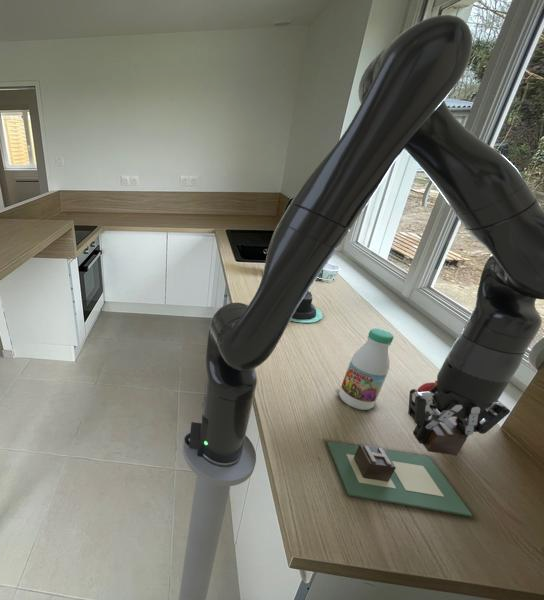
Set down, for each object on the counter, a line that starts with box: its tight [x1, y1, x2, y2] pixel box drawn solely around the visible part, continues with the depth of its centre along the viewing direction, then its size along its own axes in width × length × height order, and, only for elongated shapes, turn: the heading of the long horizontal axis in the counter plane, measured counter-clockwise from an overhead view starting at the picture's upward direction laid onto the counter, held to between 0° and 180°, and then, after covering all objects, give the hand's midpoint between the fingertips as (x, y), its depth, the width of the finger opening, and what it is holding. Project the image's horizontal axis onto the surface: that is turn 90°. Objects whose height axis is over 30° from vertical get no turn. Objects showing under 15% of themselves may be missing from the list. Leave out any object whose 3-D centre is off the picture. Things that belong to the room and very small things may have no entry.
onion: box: [417, 380, 437, 402], centre depth 79 cm, size 6×6×8 cm
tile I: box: [422, 416, 468, 456], centre depth 57 cm, size 4×4×4 cm
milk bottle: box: [338, 328, 394, 411], centre depth 78 cm, size 8×8×20 cm
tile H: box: [354, 444, 396, 482], centre depth 62 cm, size 4×4×4 cm
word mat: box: [326, 441, 473, 518], centre depth 63 cm, size 20×12×1 cm, turn 80°
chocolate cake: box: [290, 289, 324, 324], centre depth 127 cm, size 15×19×20 cm
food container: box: [316, 262, 341, 283], centre depth 162 cm, size 12×12×6 cm
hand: (434, 441), depth 58 cm, fingers closed on tile I, 4 cm apart
